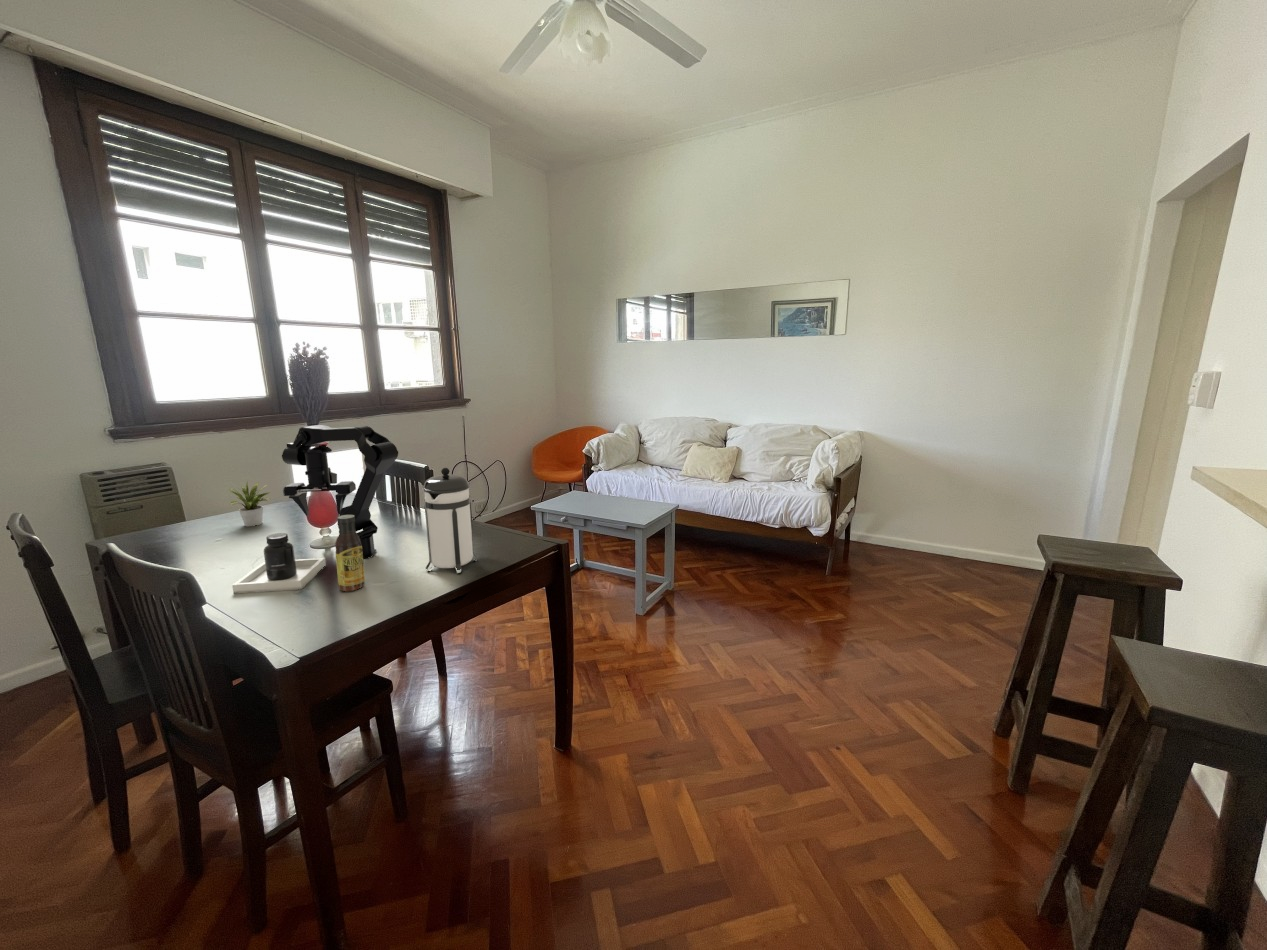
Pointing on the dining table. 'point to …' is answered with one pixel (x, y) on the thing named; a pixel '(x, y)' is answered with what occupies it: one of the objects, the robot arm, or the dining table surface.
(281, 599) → the dining table surface
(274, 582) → the tray
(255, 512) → the house plant
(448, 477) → the coffee press
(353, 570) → the sauce bottle
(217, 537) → the dining table surface
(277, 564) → the supplement bottle
